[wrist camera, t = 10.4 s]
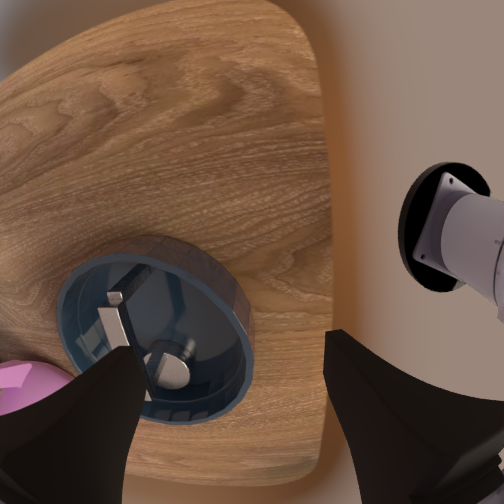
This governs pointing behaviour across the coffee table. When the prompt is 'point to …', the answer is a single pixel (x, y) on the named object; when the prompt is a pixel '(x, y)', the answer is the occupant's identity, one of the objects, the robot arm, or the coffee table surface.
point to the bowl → (167, 323)
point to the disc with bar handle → (122, 334)
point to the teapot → (28, 383)
